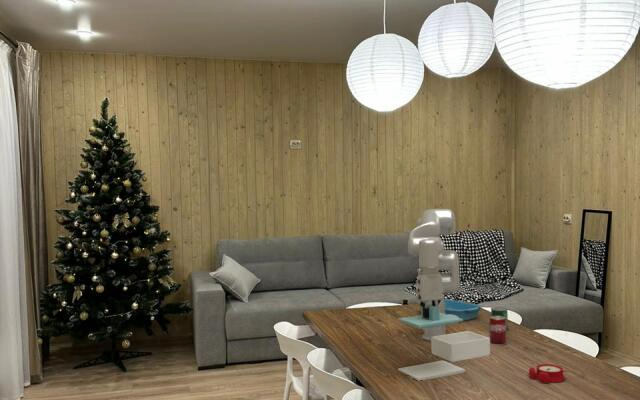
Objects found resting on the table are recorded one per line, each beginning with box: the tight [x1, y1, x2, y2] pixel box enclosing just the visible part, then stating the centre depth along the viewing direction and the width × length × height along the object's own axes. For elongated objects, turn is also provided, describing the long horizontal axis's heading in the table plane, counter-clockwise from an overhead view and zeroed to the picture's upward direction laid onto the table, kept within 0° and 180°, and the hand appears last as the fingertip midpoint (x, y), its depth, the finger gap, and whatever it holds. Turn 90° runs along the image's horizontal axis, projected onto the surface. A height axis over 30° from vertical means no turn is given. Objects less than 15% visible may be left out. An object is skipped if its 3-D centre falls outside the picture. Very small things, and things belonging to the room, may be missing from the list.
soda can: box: [489, 316, 508, 346], centre depth 264 cm, size 7×7×12 cm
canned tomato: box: [490, 306, 509, 333], centre depth 287 cm, size 8×8×11 cm
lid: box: [397, 304, 464, 330], centre depth 226 cm, size 22×14×7 cm, turn 115°
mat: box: [397, 359, 466, 382], centre depth 227 cm, size 14×22×1 cm, turn 115°
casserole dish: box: [418, 298, 481, 322], centre depth 322 cm, size 37×22×7 cm, turn 35°
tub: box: [430, 330, 491, 363], centre depth 246 cm, size 20×14×8 cm
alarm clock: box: [527, 363, 570, 384], centre depth 215 cm, size 10×6×15 cm
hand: (430, 316), depth 226 cm, fingers closed on lid, 3 cm apart
